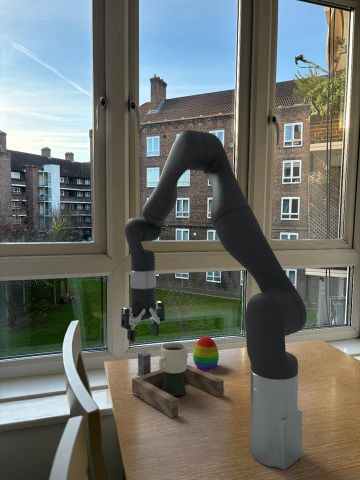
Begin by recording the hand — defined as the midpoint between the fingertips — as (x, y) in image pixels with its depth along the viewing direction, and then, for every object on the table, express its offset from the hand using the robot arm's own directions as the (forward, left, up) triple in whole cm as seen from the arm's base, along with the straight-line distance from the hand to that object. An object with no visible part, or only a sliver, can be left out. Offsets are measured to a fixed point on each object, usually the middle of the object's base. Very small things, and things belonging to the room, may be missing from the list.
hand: (143, 338), depth 115 cm
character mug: (-14, 0, -12) cm, 19 cm away
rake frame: (-12, 0, -12) cm, 17 cm away
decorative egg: (-7, -19, -12) cm, 24 cm away
